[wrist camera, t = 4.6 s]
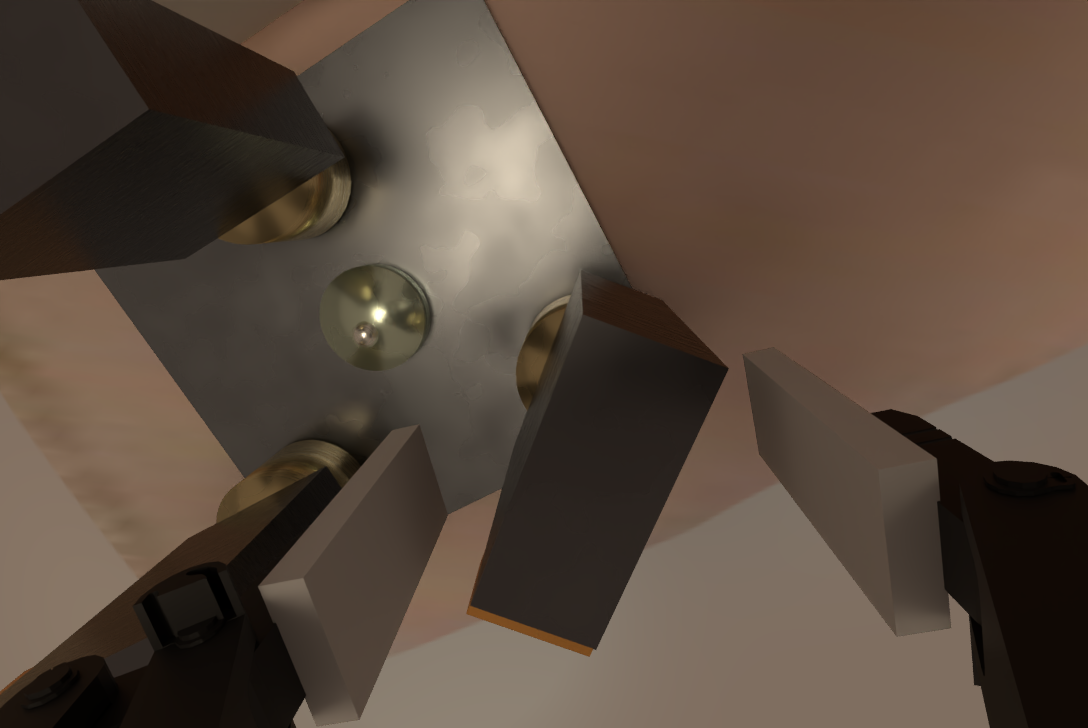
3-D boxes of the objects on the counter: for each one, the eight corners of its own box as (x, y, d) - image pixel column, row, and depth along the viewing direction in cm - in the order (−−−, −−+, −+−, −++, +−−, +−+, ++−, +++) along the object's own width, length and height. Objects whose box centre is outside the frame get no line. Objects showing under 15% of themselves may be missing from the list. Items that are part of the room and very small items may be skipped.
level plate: (468, -29, 22) (456, -55, 20) (684, 392, 25) (694, 408, 23) (83, 231, 25) (37, 233, 23) (323, 568, 29) (303, 596, 27)
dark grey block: (557, 252, 23) (533, 296, 11) (671, 295, 23) (777, 386, 11) (498, 413, 25) (422, 605, 13) (604, 451, 25) (630, 677, 13)
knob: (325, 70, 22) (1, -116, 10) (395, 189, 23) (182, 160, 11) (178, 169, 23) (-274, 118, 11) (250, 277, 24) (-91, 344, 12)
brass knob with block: (349, 411, 25) (135, 597, 13) (408, 501, 26) (261, 752, 14) (220, 481, 27) (-84, 709, 14) (282, 565, 28) (45, 844, 15)
